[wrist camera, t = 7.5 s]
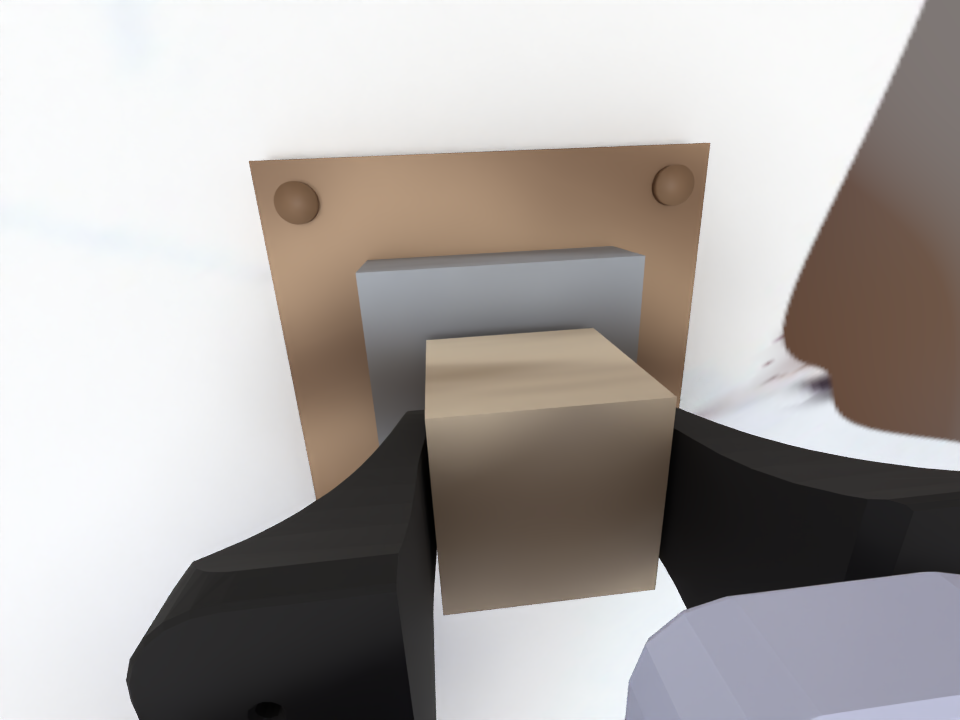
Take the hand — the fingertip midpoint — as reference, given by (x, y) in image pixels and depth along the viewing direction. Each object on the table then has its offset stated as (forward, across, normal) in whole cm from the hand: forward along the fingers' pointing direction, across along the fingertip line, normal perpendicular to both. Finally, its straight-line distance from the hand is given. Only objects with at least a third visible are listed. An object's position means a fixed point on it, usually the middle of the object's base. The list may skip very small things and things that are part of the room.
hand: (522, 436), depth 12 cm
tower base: (+6, 0, 0) cm, 6 cm away
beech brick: (+1, 0, 0) cm, 1 cm away
